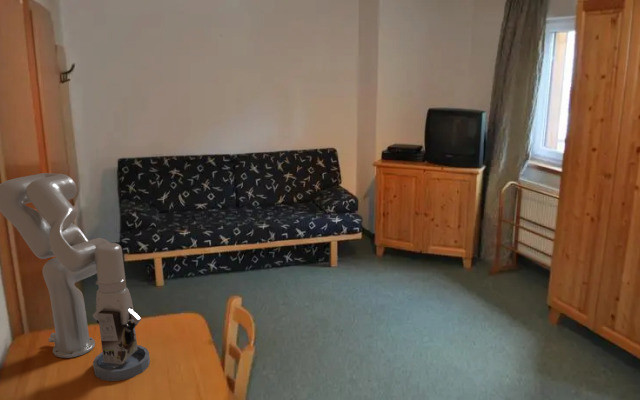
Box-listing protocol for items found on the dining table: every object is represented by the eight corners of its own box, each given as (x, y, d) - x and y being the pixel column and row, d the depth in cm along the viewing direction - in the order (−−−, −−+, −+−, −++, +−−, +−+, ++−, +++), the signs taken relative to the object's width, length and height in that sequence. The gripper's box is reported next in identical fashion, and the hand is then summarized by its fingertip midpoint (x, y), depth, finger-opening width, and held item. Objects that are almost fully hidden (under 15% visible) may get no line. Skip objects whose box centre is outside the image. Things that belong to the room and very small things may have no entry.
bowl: (83, 376, 167) (81, 367, 166) (115, 350, 182) (114, 342, 181) (129, 383, 163) (128, 374, 162) (159, 356, 177) (158, 347, 177)
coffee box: (123, 364, 166) (116, 314, 162) (103, 363, 167) (96, 312, 164) (138, 349, 175) (133, 301, 171) (119, 348, 176) (113, 299, 172)
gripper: (78, 287, 164) (86, 343, 169) (130, 292, 160) (137, 350, 164) (95, 278, 171) (102, 332, 176) (145, 282, 167) (151, 338, 171)
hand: (119, 340), depth 170 cm, fingers closed on coffee box, 6 cm apart
